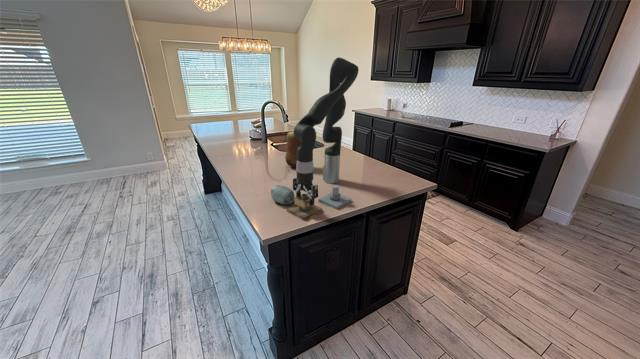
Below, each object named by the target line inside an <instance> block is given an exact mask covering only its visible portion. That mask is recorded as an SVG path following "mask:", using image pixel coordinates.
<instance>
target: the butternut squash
mask: <svg viewBox="0 0 640 359" xmlns="http://www.w3.org/2000/svg"><path fill="white" fill-rule="evenodd" d="M301 143H302V141H301V140H298V139H297V138H295V136H294V130H293V131H289V132H287V134H286V152H285V157H284V159H285V162H286V164H287V165H288V166H289V167H291V168H293V169H296V164H297V148H298V147H300V146H301Z"/></svg>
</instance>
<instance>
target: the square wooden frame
mask: <svg viewBox="0 0 640 359" xmlns="http://www.w3.org/2000/svg"><path fill="white" fill-rule="evenodd" d="M294 205H298V206H300V207H302V208H306V207H308V206H310V197H309V195H308V199H307V200H305V201H304V200H302V196H299V197H296V196H295V199H294Z"/></svg>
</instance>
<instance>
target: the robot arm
mask: <svg viewBox="0 0 640 359" xmlns="http://www.w3.org/2000/svg"><path fill="white" fill-rule="evenodd" d="M358 74H359V66H358V65H357V64H355V63H353V62H350V61H349V60H347V59H345V58H342V57H336V58H335V59H334V60H333V62H332V64H331V67H330V72H329V92H328V93H326V94H324V95H322V96H320V97H319V98H318V99H317V100H315V102H314V103H313V105H311V108H310V109H309V111H308V113H306V114H305V115H304V116H303V117H302V118H301V119H300V120H299V121H298V122H297V123H296V125H295V126H294V128H293V131H294V136H295V138H297V139H298V140H301V141H302V143H301V146H300V147H298V148H297V164H296V168H295V170H296V177H295V178H293V179H292V191H295V198H296V197H299V196H301V195H302V192H301V191H303V192H305V194H307V195H308V196H309V197H310V206H312V205H315V199H317V198H318V197H319V186H318V184H316V185H315V184H313V180H314V152H313V151H314V148H315V145H316V144H315V143H316V140H317V132H316V129H315V126H318V125H321V124H322V123H323V121H324V120H325V121H324V125H323V130H322V140H323V142H324V143H326V144H332V145H330V146H329V147H326V148H325V149H324V164H323V165H322V181H324V182H325V183H326V184H337V183H339V182H340V168H341V166H340V165H341V148H342V147H341V146H342V137H343V130H342V127H341V126H335V125H336V123H338V122H339V121H340V120H341V119H342V118H343V117H344V115H345V112H346V106H347V102H346V98H345V93H346V92H347V91H348V90H349V88H351V87H352V85H353V84H354V82H355V81H356V79H357V77H358Z"/></svg>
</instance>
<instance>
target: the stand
mask: <svg viewBox="0 0 640 359" xmlns="http://www.w3.org/2000/svg"><path fill="white" fill-rule="evenodd" d="M301 196H302V200H304V201H305V200H307V199H308V196H309V195H307V193H301ZM286 212H288V213H289V214H291V215H292V216H295V217H297V218H298V219H300V220H302V221H306V220H308V219H310V218H312V217H314V216H316V215H318V214H319V213H321V212H323V207H320V206H319V205H316V204H314V205H312V206H308V207H306V208H302V207H300V206H298V205H296V204H294V205H293V204H292V205H291V206H290V207H289V206H288V207H287V208H286Z"/></svg>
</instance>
